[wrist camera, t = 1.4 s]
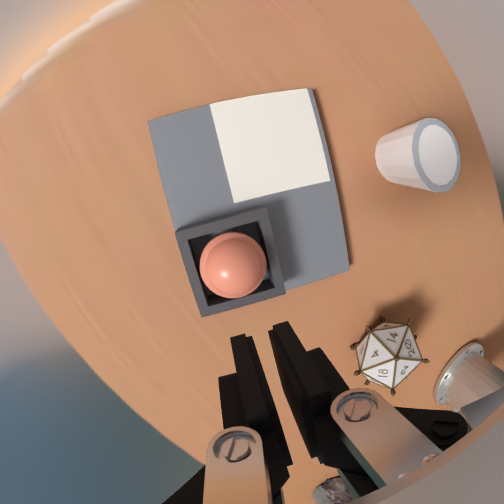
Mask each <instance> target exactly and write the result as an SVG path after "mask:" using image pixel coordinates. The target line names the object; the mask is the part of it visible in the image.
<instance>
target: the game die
mask: <svg viewBox="0 0 504 504" xmlns="http://www.w3.org/2000/svg"><path fill="white" fill-rule="evenodd" d="M380 319H381V322H382V323H381V324H379V325H378V326H376V327H375V328H373V329H372V330H371V328H370V326H366V329H365V330H367V331H368V333H367V335H366V336H365V337H364V338H363V340H362V341H361V342H360V343H359V344H358V345H357V346H355V345H352V346H349V347H350V348H351V350H352V349H353V350H354V349H356V353H357V359H358V365H359V370H357V371H355V373H354V375H356V376H357V375H359V374H360V373H362V374H363V375H364V376H365V377H366V378H367V379H368V380H366V382H365V385H369V383H370V381H371V382H373V383H376V384H378V385H381V386H384V387H386V388H389V389H391V395H392V396H393V397H394V395H395V390H394V388H395V387H397V386H398V385H399V384H400V383H401V382H402V381H403V380H404V379H405V378H407V376H408V375H409V374H410V373H411V372H412V371H413V370H414V369H415V368H416V367H417V366H418V365H419V364H420V363H421V362H423V363H428V362H430V361H429V360H428V359H422V356H421V353H420V351H419V348H418V345H417V343H416V340H415V339H416V338H417V335H413V332H412V330H411V328H410V325H411V324H412V323H413V318H412V319H409V321H408V324H400V323H389V322H385V318H384V317H383V316H382V317H381V318H380Z"/></svg>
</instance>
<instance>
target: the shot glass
mask: <svg viewBox="0 0 504 504" xmlns="http://www.w3.org/2000/svg"><path fill="white" fill-rule="evenodd" d="M375 159H376V164H377V167H378V169H379V171H380V173H381V175H382V176H383V177H384V178H386V179H387V180H388V181H389V182H392V183H395V184H400V185H405V186H410V187H415V188H419V189H424V190H428V191H433V192H437V193H441V192H446V191H449V190H450V189H451V188H452V187H453V186H454V185H455V183H456V181H457V178H458V176H459V173H460V164H461V158H460V152H459V146H458V144H457V141H456V139H455V137H454V134H453V133H452V131H451V130H450V129H449V128H448V126H447V125H446V124H445V123H443V122H442V121H440V120H438V119H436V118H425V119H422V120H420V121H417V122H415V123H412V124H409V125H407V126H404V127H402V128H399V129H397V130H394V131H392V132H389V133H387V134H385V135H384V136H382V137H381V138H380V139H379V141H378V143H377V145H376V151H375Z"/></svg>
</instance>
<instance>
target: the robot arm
mask: <svg viewBox="0 0 504 504" xmlns="http://www.w3.org/2000/svg"><path fill="white" fill-rule="evenodd" d="M268 333H269V337H270V341H271V345H272V349H273V353H274V357H275V361H276V365H277V369H278V373H279V376H280V380H281V384H282V388H283V391H284V394H285V396H286V399H287V401H288V403H289V406H290V408H291V411H292V413H293V416H294V418H295V421H296V423H297V426H298V428H299V430H300V433H301V435H302V438H303V440H304V442H305V445H306V447H307V450H308V452H309V454H310V457H311V458H314V457H318V459H319V462H320V464H322V463H324V464H325V465H326V466H330V467H334V468H336V470H337V472H338V474H339V475H340V477H341V478H342V480H343V481H344V483H345V484H346V485H347V487H348V488H349V490H350V491H351V492H352V494H353V495H354V497H355V498H356V500H353V501H351V502H348V503H346V504H504V372H503V371H502V370H501V369H499V368H498V367H496V366H495V365H494V364H492V363H491V362H489V361H488V360H486V359H485V358H484V357H483V356H484V350H483V347H482V345H480V344H479V343H477V342H471V343H469V344H467V345H465V346H464V347H463V348H461V349H460V350H459V351H458V352H457V353H456V354H455V355H454V356H453V357H452V359H451V360H450V361H449V362H448V364H447V365H446V366H445V368H444V370H443V371H442V373H441V375H440V377H439V378H438V381H437V383H436V386H435V390H434V398H435V400H436V401H437V402H438V403H440V404H446V403H449V404H450V405H451V411H447V410H427V409H413V408H402V407H393V406H392V405H391V404H390V403H389V402H388V401H386V400H385V399H384V398H383V397H382V396H381V395H380V394H379V393H377V392H376V391H374V390H371V389H368V388H355V389H349V387H348V386H347V384H346V383H345V382H344V380H343V379H342V377H341V376H340V374H339V373H338V372H337V370H336V369H335V367H334V366H333V365H332V363H331V362H330V360H329V359H328V358H327V356H326V355H325V353H324V352H323V351H322V349H321V348H319V347H318V348H316V349H313V350H310V351H307V352H306V350H305V348H304V347H303V345H302V344H301V342H300V340H299V339H298V337H297V335H296V334H295V332H294V331H293V329H292V327H291V326H290V324H289V322H288V321H286V322H282V323H279V324H276V325H273V330H270V331H268ZM230 340H231V345H232V351H233V356H234V361H235V367H236V372H237V373H233V374H229V375H225V376H221V377H219V378H218V380H219V391H220V400H221V409H222V418H223V427H224V430H222V431H220V432H219V433H217V434H216V435H215V436H214V437H213V438H212V439H211V441H210V442H209V444H208V448H207V456H206V465H205V466H204V467H203V468H202V469H200V470H199V471H198V472H197V473H196V474H195V475H194V476H193V477H192V478H191V479H190V480H189V481H188V482H187V483H185V484H184V485H183V486H182V487H181V488H180V489H179V490H178V491H176V492H175V493H174V494H173V495H172V496H171V497H169V498H168V499H167V500H166V501H165V502H164V503H162V504H285V501H284V495H283V490H282V486H283V485H284V484H285V482H286V481H287V480H288V478H289V477H290V476H289V472H288V469H287V466H289V465H293V462H292V459H291V456H290V452H289V449H288V446H287V443H286V439H285V436H284V433H283V429H282V426H281V423H280V419H279V416H278V413H277V410H276V407H275V404H274V401H273V398H272V395H271V392H270V389H269V386H268V383H267V380H266V377H265V374H264V371H263V368H262V365H261V362H260V359H259V356H258V353H257V350H256V347H255V344H254V341H253V338H252V336H249V337H246V335H245V334H241V335H238V336H234V337H230Z"/></svg>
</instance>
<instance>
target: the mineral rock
mask: <svg viewBox="0 0 504 504" xmlns="http://www.w3.org/2000/svg"><path fill="white" fill-rule="evenodd" d="M313 499H314V500H315V503H316V504H346V503H348V502H351V501H353V500H356V498H355V497H354V495H353V494H352V492H351V491H350V490H349V488H348V487H347V485H346V484H345V483H344V481H343V480H342V478H333V479H331V480H329V479H328V480H327V481H325V482H324V484H323V485H320V486H318V487H317V488H316V489H315V490H314V492H313Z"/></svg>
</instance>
